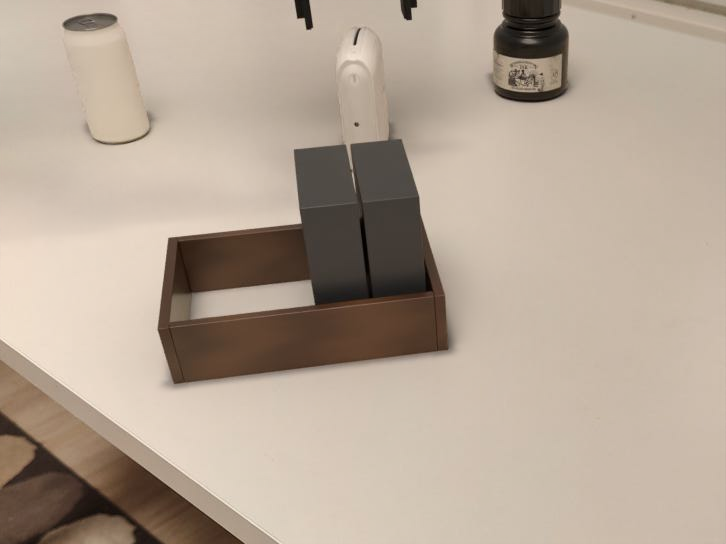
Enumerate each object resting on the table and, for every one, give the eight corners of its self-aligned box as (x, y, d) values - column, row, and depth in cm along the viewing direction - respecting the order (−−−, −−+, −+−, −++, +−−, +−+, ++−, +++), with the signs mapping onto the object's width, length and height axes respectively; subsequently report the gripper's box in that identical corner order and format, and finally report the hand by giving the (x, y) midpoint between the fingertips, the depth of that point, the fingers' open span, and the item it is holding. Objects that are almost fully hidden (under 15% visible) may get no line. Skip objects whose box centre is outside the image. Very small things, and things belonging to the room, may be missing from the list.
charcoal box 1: (322, 353, 73) (299, 208, 65) (315, 286, 80) (293, 148, 72) (374, 347, 73) (357, 202, 65) (362, 281, 80) (345, 143, 72)
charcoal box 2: (378, 346, 73) (361, 202, 65) (366, 281, 80) (349, 143, 72) (429, 340, 74) (419, 196, 66) (412, 275, 81) (401, 138, 73)
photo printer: (385, 174, 98) (373, 49, 90) (343, 174, 98) (328, 50, 90) (392, 133, 106) (382, 15, 97) (354, 134, 106) (341, 16, 97)
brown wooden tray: (177, 396, 71) (157, 329, 67) (185, 301, 81) (167, 237, 77) (448, 362, 73) (445, 295, 69) (424, 273, 83) (419, 210, 79)
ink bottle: (480, 98, 113) (478, -12, 105) (503, 72, 119) (502, -33, 111) (559, 106, 110) (563, -5, 102) (578, 79, 116) (583, -28, 108)
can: (106, 150, 104) (72, 35, 96) (83, 132, 108) (48, 20, 100) (160, 134, 107) (131, 21, 99) (136, 117, 111) (106, 7, 102)
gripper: (427, -204, 85) (439, 1, 97) (232, -191, 83) (268, 17, 95) (440, -192, 79) (451, 24, 91) (231, -177, 77) (270, 42, 89)
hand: (358, 20), depth 93 cm, fingers open, 9 cm apart
